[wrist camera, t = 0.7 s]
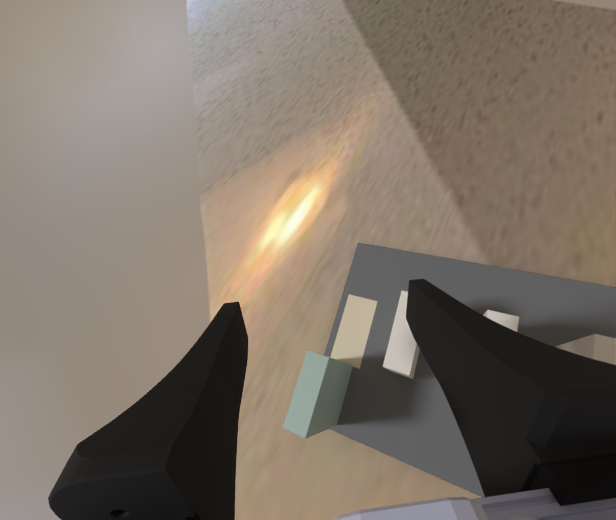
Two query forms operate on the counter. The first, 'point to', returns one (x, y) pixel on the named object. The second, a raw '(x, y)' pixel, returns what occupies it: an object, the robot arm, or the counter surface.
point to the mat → (424, 386)
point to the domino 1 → (318, 395)
